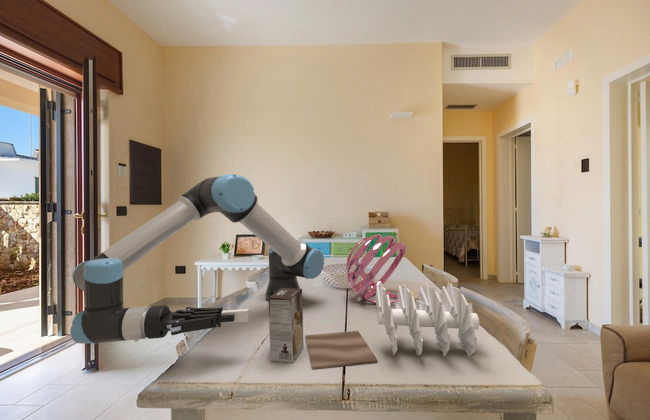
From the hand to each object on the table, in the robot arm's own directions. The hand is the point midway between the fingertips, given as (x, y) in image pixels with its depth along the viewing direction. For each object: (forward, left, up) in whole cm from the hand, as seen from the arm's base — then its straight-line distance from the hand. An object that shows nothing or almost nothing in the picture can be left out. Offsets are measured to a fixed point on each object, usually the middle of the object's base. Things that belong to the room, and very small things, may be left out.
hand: (248, 315), depth 77 cm
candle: (-14, +51, -11) cm, 54 cm away
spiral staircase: (+6, +46, -11) cm, 47 cm away
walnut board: (0, +23, -11) cm, 26 cm away
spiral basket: (-40, +48, -11) cm, 63 cm away
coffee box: (0, +10, -11) cm, 15 cm away
